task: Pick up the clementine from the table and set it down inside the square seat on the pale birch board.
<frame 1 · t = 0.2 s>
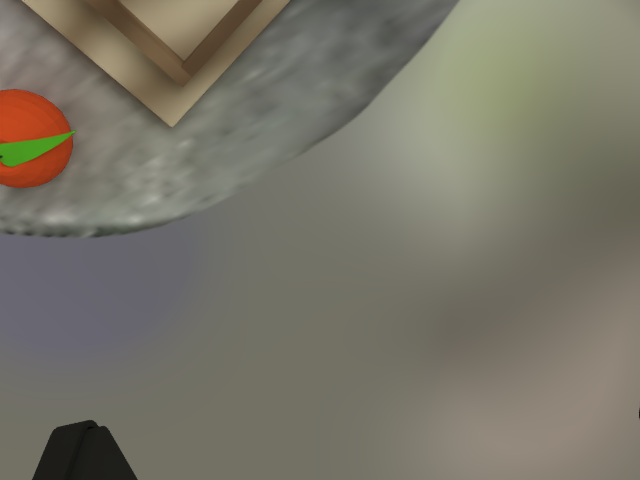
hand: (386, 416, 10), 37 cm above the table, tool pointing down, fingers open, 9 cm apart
clementine: (44, 121, 43), on the table
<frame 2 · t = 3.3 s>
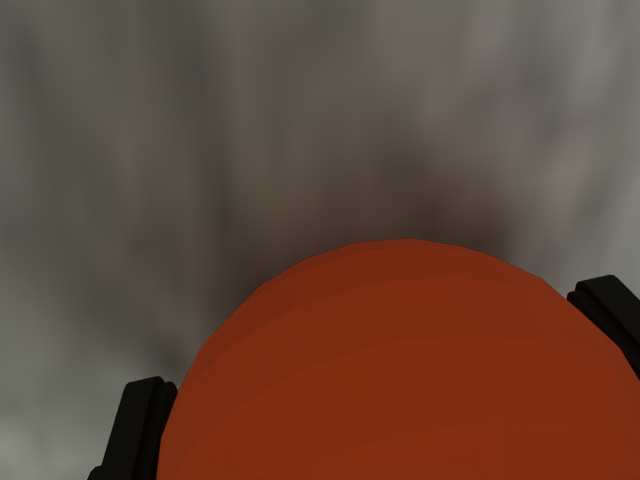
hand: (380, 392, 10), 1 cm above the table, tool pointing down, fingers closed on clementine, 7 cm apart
clementine: (352, 342, 11), on the table, touching gripper
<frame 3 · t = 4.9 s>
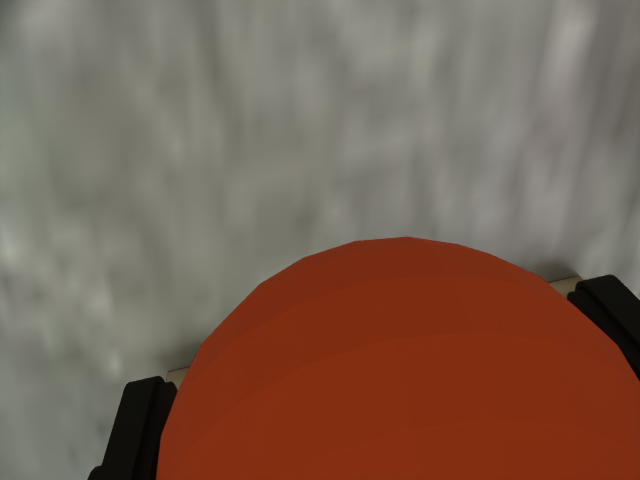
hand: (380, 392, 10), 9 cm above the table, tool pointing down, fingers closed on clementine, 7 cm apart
clementine: (352, 340, 11), point 8 cm above the table, touching gripper
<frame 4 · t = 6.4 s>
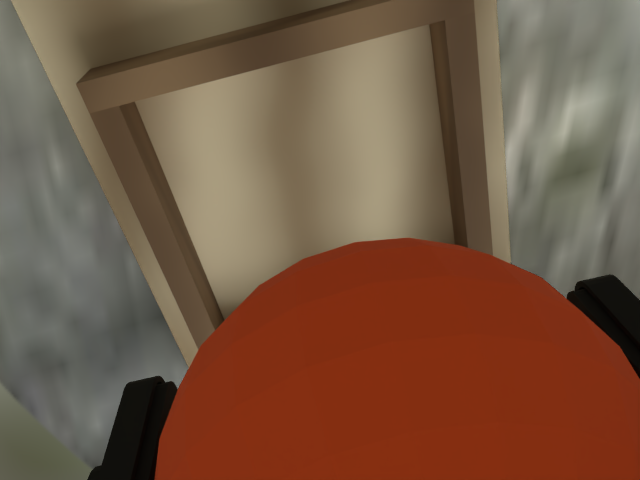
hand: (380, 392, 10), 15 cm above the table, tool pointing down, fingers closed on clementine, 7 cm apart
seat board: (309, 170, 24), on the table
clementine: (352, 342, 11), point 14 cm above the table, touching gripper
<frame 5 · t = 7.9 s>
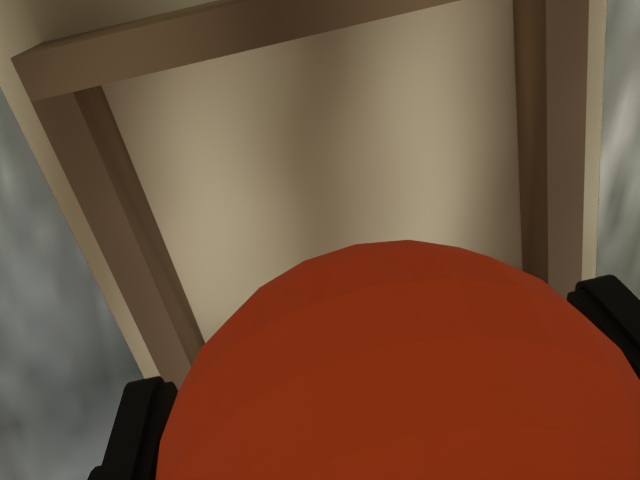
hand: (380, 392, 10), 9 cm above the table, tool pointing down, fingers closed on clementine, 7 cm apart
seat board: (336, 190, 18), on the table
clementine: (352, 343, 11), point 8 cm above the table, touching gripper
when the fingers open (5 cm above the table, at t = 9.3 s): clementine drops 2 cm, resting on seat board.
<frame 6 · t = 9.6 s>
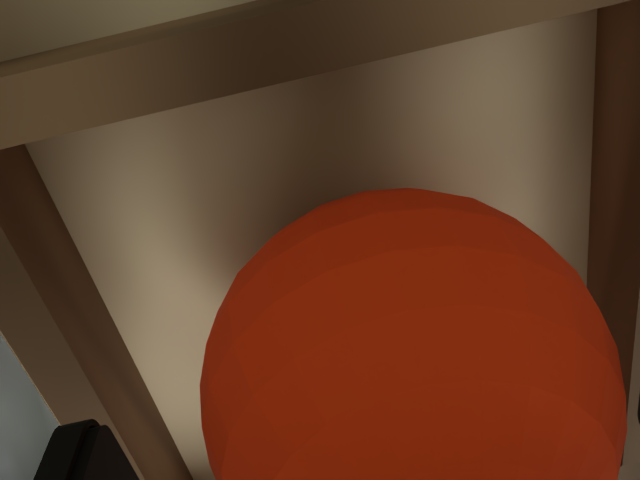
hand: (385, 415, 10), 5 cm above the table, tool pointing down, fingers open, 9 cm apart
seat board: (345, 257, 14), on the table
clementine: (359, 290, 13), point 1 cm above the table, touching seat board
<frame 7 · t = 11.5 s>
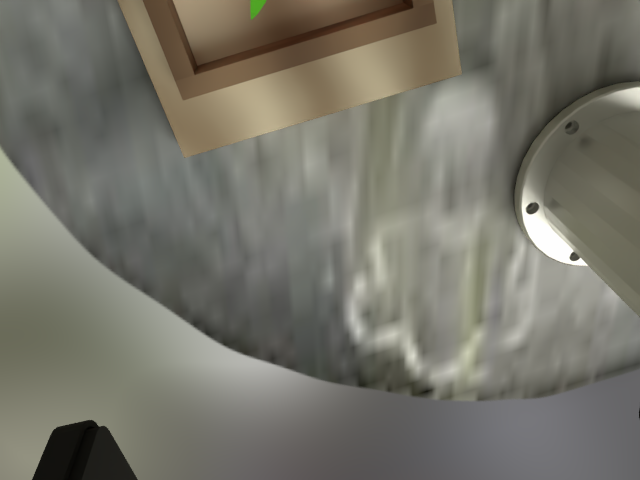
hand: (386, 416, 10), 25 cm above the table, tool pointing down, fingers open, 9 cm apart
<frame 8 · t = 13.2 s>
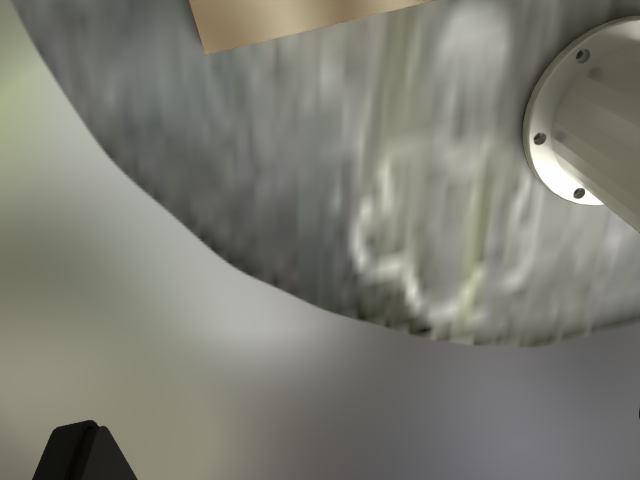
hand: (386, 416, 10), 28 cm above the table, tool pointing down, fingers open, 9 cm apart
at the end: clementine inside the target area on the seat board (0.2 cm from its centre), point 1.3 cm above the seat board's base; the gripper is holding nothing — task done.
